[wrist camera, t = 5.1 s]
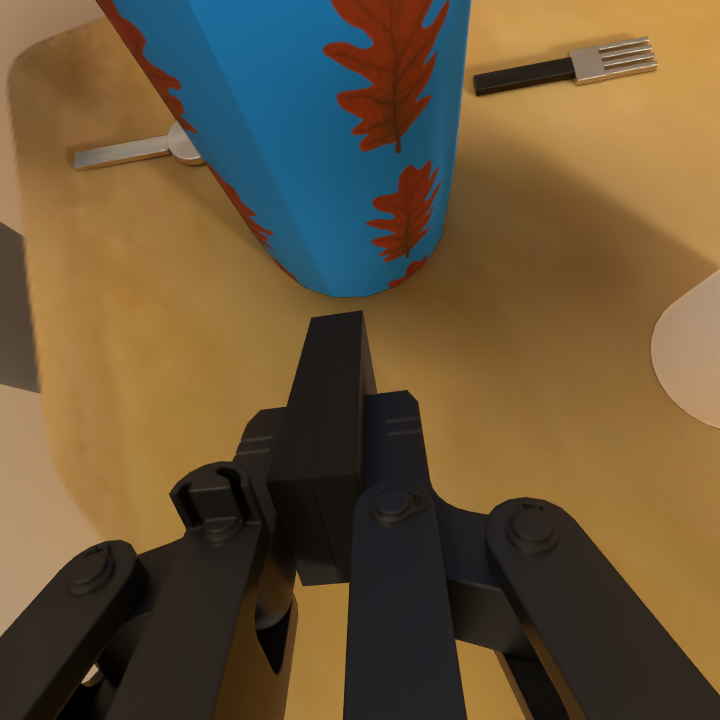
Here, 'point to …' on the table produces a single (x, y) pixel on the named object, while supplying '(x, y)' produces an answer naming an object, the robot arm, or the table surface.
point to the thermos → (317, 121)
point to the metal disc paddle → (141, 151)
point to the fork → (574, 67)
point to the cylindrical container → (691, 351)
